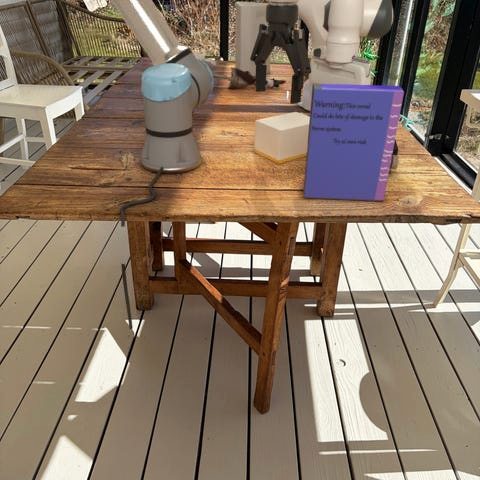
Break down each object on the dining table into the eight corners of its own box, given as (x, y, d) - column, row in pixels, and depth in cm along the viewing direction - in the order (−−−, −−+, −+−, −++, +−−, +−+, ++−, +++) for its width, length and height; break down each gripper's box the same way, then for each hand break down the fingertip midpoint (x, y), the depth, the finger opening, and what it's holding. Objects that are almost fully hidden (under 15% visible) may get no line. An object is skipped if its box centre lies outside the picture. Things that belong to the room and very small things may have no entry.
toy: (171, 74, 211) (170, 58, 208) (148, 64, 229) (146, 49, 225) (218, 68, 223) (218, 53, 219) (192, 59, 240) (192, 44, 237)
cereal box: (379, 191, 109) (398, 84, 97) (383, 201, 105) (404, 90, 93) (303, 188, 110) (312, 82, 98) (304, 197, 106) (314, 88, 94)
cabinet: (293, 141, 138) (295, 111, 134) (318, 152, 131) (322, 120, 127) (254, 151, 131) (255, 120, 126) (278, 163, 124) (280, 130, 119)
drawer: (331, 130, 145) (333, 107, 141) (353, 138, 139) (357, 115, 135) (283, 142, 135) (284, 118, 132) (305, 151, 129) (307, 126, 125)
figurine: (210, 87, 179) (288, 95, 182) (212, 65, 176) (291, 73, 180) (208, 84, 201) (278, 91, 205) (210, 64, 198) (280, 71, 202)
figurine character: (396, 183, 117) (389, 155, 129) (402, 156, 112) (395, 129, 124) (368, 182, 118) (364, 154, 129) (373, 154, 113) (368, 127, 125)
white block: (273, 76, 210) (276, 6, 196) (239, 77, 209) (240, 6, 194) (266, 67, 226) (268, 2, 212) (235, 67, 225) (235, 1, 210)
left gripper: (333, 7, 103) (322, 105, 114) (261, -1, 120) (258, 85, 131) (307, 9, 99) (299, 110, 110) (237, 0, 117) (236, 88, 128)
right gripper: (380, 58, 122) (371, 112, 129) (323, 46, 136) (318, 95, 143) (363, 60, 119) (355, 115, 126) (307, 48, 133) (303, 98, 140)
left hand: (277, 96), depth 121 cm, fingers open, 13 cm apart
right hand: (335, 105), depth 135 cm, fingers closed
